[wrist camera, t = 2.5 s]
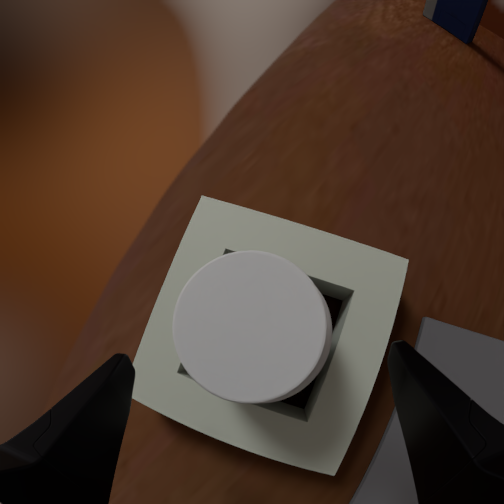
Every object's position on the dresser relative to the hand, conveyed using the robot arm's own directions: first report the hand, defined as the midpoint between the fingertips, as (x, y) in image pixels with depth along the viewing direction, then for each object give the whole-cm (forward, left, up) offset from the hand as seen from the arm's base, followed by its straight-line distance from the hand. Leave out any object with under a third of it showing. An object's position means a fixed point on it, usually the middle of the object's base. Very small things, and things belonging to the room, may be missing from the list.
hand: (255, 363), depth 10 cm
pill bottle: (+1, 0, -9) cm, 9 cm away
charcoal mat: (-2, -15, -9) cm, 17 cm away
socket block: (+1, 0, -9) cm, 9 cm away
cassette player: (+43, -11, -9) cm, 45 cm away
